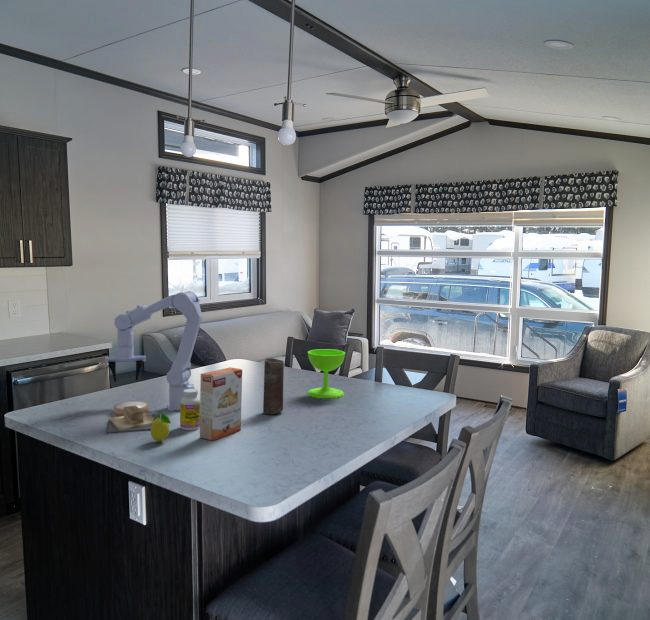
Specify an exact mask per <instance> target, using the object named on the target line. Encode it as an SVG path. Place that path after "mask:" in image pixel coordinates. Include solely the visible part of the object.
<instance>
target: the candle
mask: <svg viewBox="0 0 650 620" xmlns="http://www.w3.org/2000/svg"><path fill="white" fill-rule="evenodd" d="M284 363H285V362H284V361H283V360H281V359H278V358H277V359H276V358H274V357H273V358H272V357H270V358H265V359H264V368H263V369H264V372H263V373H264V375H263V401H262V402H263V404H262V405H263V406H262V411H263V412H262V413H263V414H266V415H268V414H271V415H275V414H280V413H281V412H283V411H284V377H285V375H284V370H285V368H284V367H285V364H284Z"/></svg>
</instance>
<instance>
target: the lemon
mask: <svg viewBox="0 0 650 620" xmlns="http://www.w3.org/2000/svg"><path fill="white" fill-rule="evenodd" d="M158 412H159V413H158V414H159V415H158V414H155V415H156V416H155V417H154V419H153V421H154V420H155V419H156V418H158V419H156V420H155V421H154V422H152V423H153V424H152V426H151V430H150V435H151V438H152V439H153V440H155V441H157V442H159V443H162V441H164V440H166V439H167V438H168V436H169V434H170V425H169V424H171V420H170V418H169V417H168V416H167V415H166V414H165V413H161V410H159V411H158Z"/></svg>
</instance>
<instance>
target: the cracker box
mask: <svg viewBox="0 0 650 620" xmlns="http://www.w3.org/2000/svg"><path fill="white" fill-rule="evenodd" d="M199 387H200V389H199V390H200V392H199V393H200V395H199V396H200V397H199V398H200V428H199V438H201V439H205V440H208V441H215V440H217V439H220V438H223V437H226V436H229V435H231V434H234V433H237V432H239V431H241V430H242V402H243V401H242V400H243V399H242V396H243V395H242V393H243V369H242V368H235V367H232V366H231V367H226V368H221V369H217V370H211V371H207V372H203V373H200V385H199Z"/></svg>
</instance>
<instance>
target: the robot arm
mask: <svg viewBox="0 0 650 620" xmlns="http://www.w3.org/2000/svg"><path fill="white" fill-rule="evenodd" d="M200 301H201V300H200V299H199V297H198V295H197V294H196V293H195V292H194V291H190V290H188V291H184V292H177V293H175V294H171V295H168V296H166V297H164V298H162V299H160V300H158V301H156V302H155V303H151V304H150V305H149V306H148V305H145V304H138V305H136V307H135V308H133V309H131V310H129V309H128V310H126V311H125V313H120V314H118V315H117V316H116V317H115V318H114V322H113V323H114V326H115V327H116V329H117V330H116V333H117V355H116V356H105V357H104V363H105V364H107V365H108V368H109V369H110V372H111V374H112V377H113V382H117V371H116V368H117V367H116V365H117V363H129V362H135V382H137V381H139V375H140V374H139V373H140V371H141V368H142V366H143V364H144V363H145V362H146V361H147V355H134V354H135V351H134V349H135V347H134V328H135V326H136V325H140V324H141V323H144V322H145V321H147V320H150V319H151V318H152V315H153V314H156V313H158V312H160V311H162V310H164V309H167V308H175V309H177V310H178V311H179V312H180V313H181V314H183V316H184V317H185V319H186V320H185V321H186V323H185V324H184V325H185V326H184V329H183V332H182V336H181V339H180V344H179V346H178V347H179V348H178V351H177V353H176V357H175V360H174V362H173V363H172V365H171V368H170V370H168V372H167V373H166V378H165V379H166V381H167V384H168V397H169V398H168V402H169V403H168V404H167V409H168V411H169V412H170V411H171V412H172V411H180V401H181V399H182V398H183V397H184V394H183V391H184V390H186V389H195V384H194V383H189V379H190V378H191V376H192V370H191V368H192V363H191V359H192V355H193V350H194V349H195V345H196V341H197V337H198V334H199V332H200V331H199V330H200V327H201V323H202V320H203V313H202V309H201V305H200Z"/></svg>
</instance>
